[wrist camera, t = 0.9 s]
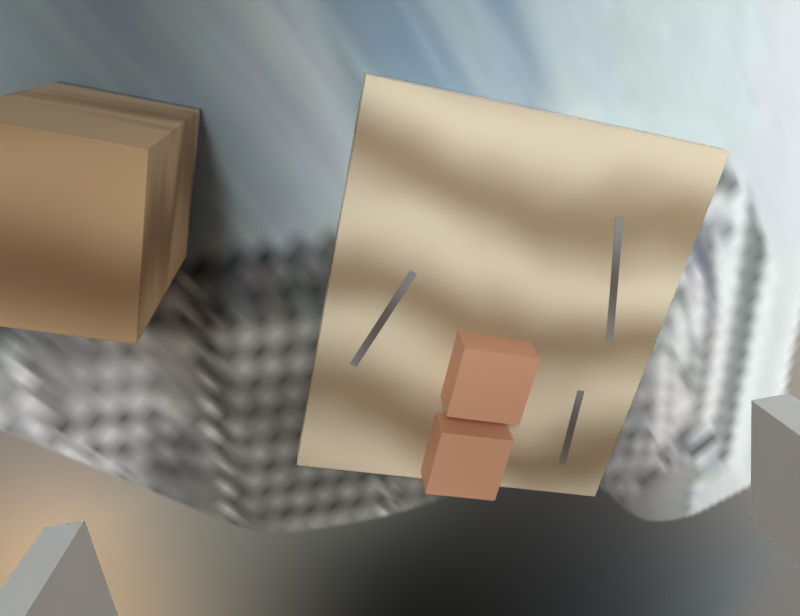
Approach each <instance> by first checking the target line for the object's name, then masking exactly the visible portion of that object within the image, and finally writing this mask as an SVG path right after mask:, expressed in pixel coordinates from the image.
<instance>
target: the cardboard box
mask: <svg viewBox="0 0 800 616" xmlns="http://www.w3.org/2000/svg"><path fill="white" fill-rule="evenodd" d="M200 115H201V109H200V108H195V107H190V106H184V105H179V104H174V103H169V102H164V101H159V100H154V99H148V98H143V97H138V96H133V95H128V94H123V93H117V92H112V91H107V90H102V89H97V88H92V87H86V86H81V85H76V84H71V83H66V82H61V81H60V82H57V83H53V84H49V85H45V86H41V87H37V88H33V89H29V90H25V91H21V92H17V93H13V94H9V95H5V96H1V97H0V326H2V327H10V328H17V329H25V330H33V331H40V332H48V333H55V334H63V335H71V336H78V337H86V338H94V339H101V340H109V341H117V342H124V343H132V344H137V342H138V340H139V338H140V337H141V335H142V333H143V331H144V330H145V328H146V326H147V324H148V322H149V321H150V319H151V317H152V315H153V314H154V312H155V310H156V308H157V307H158V305H159V303H160V301H161V300H162V298H163V296H164V294H165V293H166V291H167V289H168V287H169V286H170V284H171V282H172V280H173V279H174V277H175V275H176V273H177V272H178V270H179V268H180V266H181V265H182V263H183V261H184V259H185V258H186V256H187V254H188V249H189V238H190V227H191V216H192V204H193V193H194V182H195V171H196V160H197V149H198V138H199V127H200Z"/></svg>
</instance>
